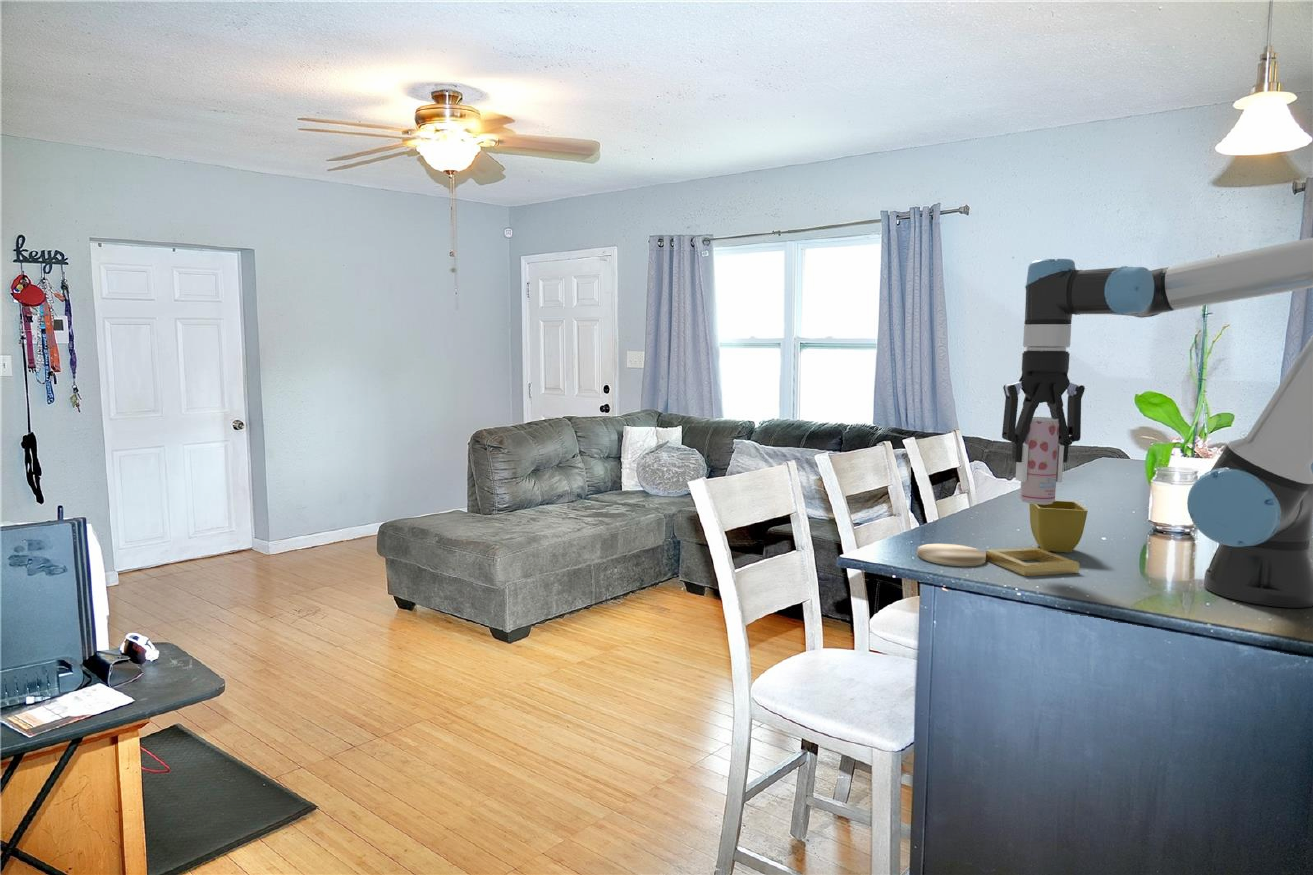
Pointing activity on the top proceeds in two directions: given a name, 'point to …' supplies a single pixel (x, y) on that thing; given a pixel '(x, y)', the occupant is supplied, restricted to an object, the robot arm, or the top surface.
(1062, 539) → the flower pot
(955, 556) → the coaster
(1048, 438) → the pink strawberry drink can
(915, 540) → the top surface
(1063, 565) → the square wooden tray
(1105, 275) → the robot arm
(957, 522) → the top surface
